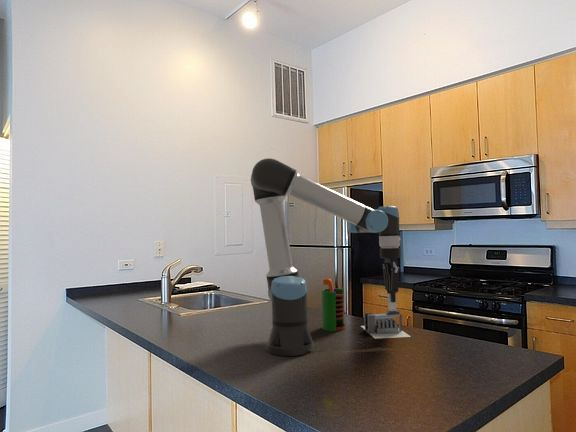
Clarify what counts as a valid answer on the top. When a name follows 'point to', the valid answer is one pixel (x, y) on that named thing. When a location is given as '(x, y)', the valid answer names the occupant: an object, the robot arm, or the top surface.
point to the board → (393, 335)
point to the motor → (332, 307)
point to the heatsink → (385, 326)
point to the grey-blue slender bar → (387, 314)
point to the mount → (371, 323)
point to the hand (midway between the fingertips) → (392, 310)
